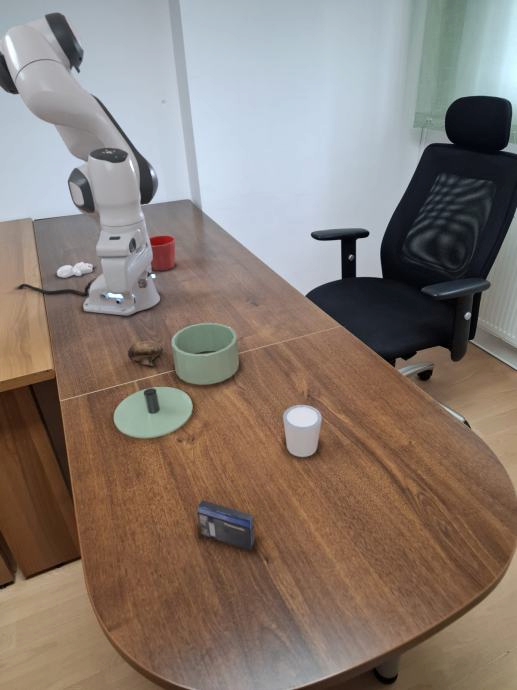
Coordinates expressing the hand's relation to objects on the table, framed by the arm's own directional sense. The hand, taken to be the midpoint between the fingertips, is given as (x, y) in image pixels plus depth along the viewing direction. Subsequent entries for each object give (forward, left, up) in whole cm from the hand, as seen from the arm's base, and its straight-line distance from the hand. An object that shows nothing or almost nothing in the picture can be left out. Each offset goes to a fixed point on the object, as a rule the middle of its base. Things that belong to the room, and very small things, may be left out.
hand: (137, 295), depth 102 cm
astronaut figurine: (-43, +56, -18) cm, 72 cm away
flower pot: (-13, +61, -18) cm, 65 cm away
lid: (+6, -19, -17) cm, 26 cm away
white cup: (+36, -27, -18) cm, 49 cm away
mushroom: (-1, 0, -18) cm, 18 cm away
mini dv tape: (+25, -47, -18) cm, 56 cm away
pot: (+14, -2, -18) cm, 23 cm away
